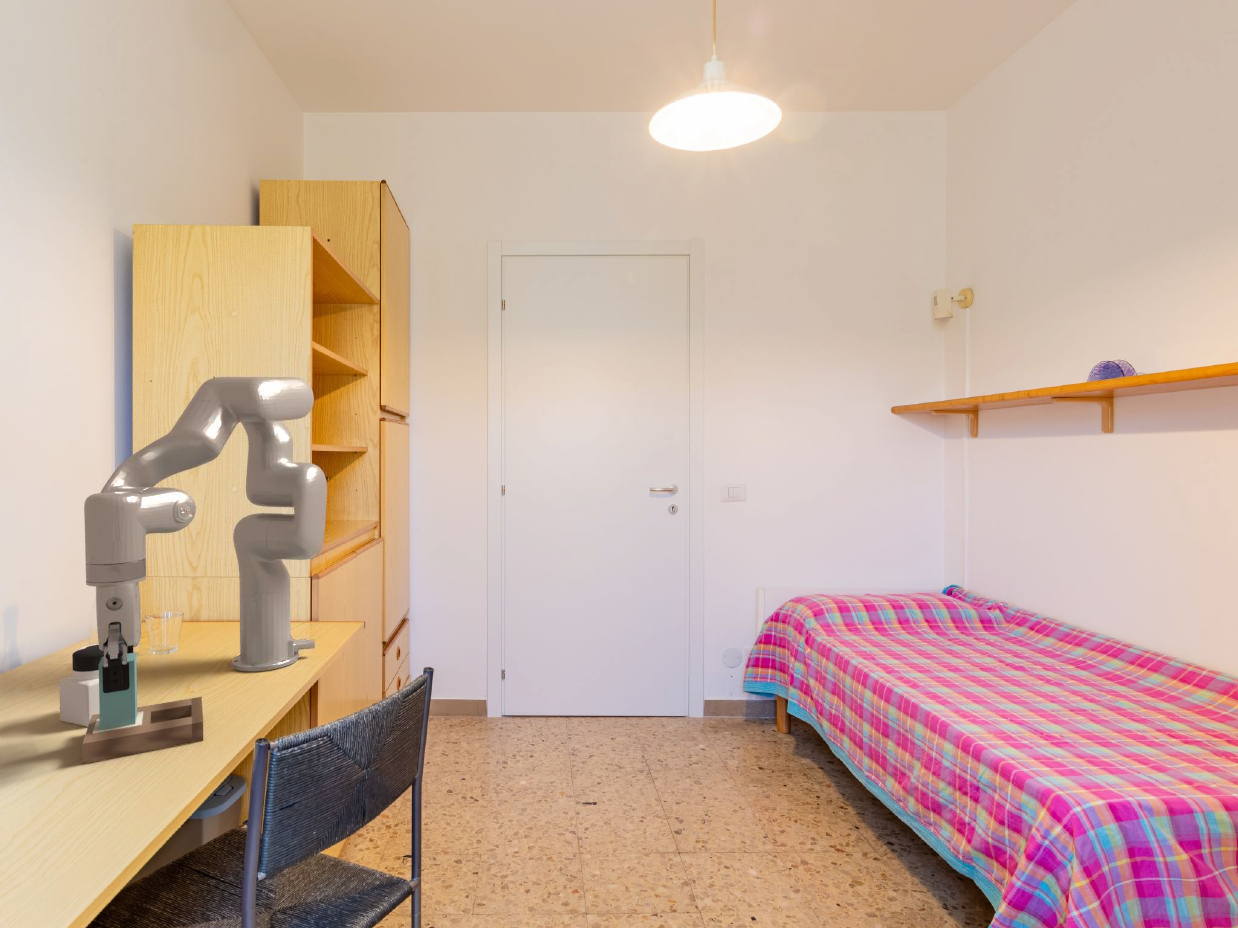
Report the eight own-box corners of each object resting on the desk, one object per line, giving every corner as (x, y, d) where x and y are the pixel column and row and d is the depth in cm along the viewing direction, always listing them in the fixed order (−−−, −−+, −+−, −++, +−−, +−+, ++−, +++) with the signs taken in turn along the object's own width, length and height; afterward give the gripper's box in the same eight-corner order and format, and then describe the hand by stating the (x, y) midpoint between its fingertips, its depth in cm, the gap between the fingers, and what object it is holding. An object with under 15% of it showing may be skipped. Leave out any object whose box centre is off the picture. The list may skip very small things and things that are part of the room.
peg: (137, 713, 109) (136, 652, 108) (135, 723, 105) (134, 660, 105) (103, 719, 106) (101, 656, 106) (99, 730, 103) (98, 665, 102)
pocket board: (201, 713, 117) (201, 695, 117) (203, 740, 107) (203, 720, 107) (92, 733, 109) (91, 713, 109) (82, 764, 99) (82, 742, 99)
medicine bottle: (132, 711, 118) (131, 643, 117) (88, 727, 111) (87, 655, 110) (103, 705, 120) (102, 638, 120) (59, 721, 113) (57, 650, 113)
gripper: (143, 579, 100) (145, 694, 100) (148, 560, 114) (150, 660, 115) (78, 585, 96) (81, 704, 96) (92, 564, 110) (95, 668, 111)
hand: (119, 680), depth 106 cm, fingers open, 9 cm apart
